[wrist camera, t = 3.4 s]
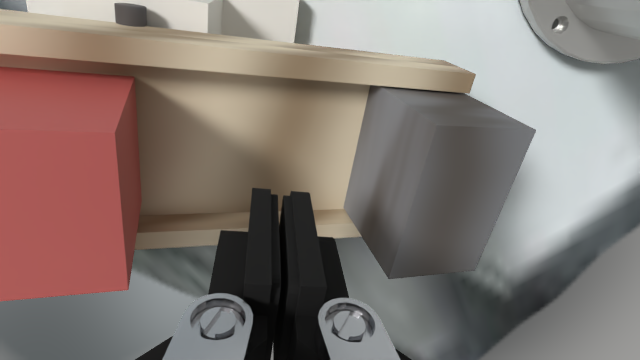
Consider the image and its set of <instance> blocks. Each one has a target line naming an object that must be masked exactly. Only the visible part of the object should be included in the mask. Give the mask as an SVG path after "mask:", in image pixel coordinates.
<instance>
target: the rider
mask: <svg viewBox="0 0 640 360" xmlns="http://www.w3.org/2000/svg"><path fill="white" fill-rule="evenodd" d="M141 202H142V197H141V180H140V162H139V145H138V127H137V110H136V92H135V77H133V76H120V75H107V74H94V73H80V72H67V71H54V70H41V69H28V68H15V67H1V66H0V301H8V300H20V299H31V298H43V297H53V296H65V295H75V294H88V293H99V292H110V291H122V290H128V289H129V282H130V275H131V269H132V262H133V255H134V249H135V242H136V235H137V229H138V222H139V216H140V209H141Z"/></svg>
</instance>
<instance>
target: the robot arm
mask: <svg viewBox="0 0 640 360" xmlns="http://www.w3.org/2000/svg"><path fill="white" fill-rule="evenodd" d="M520 3H521V7H522V10H523V13H524V15H525V17H526V18H527V20H528V22H529V23H530V25H531V27H532V29H533V30H534V32H535V33H536V34H537V35H538V36H539V37H540V38H541V39H542V40H543V41H544V42H545V43H546V44H547V45H548V46H550V47H552V48H553V49H555V50H557V51H558V52H560V53H562V54H563V55H566V56H570V57H573V58H576V59H578V60H581V61H586V62H592V63H598V64H612V63H624V62H628V61H633V60H637V59H640V0H520ZM273 343H274V344H273ZM272 345H273V350H274V360H411V359H410V358H408V357H407V356H405V355H404V354H402V353H401V352H400V351H398V350H397V349H395V348H394V346H393V344H392V342H391V340H390V338H389V336H388V334H387V332H386V330H385V328H384V326H383V324H382V322H381V320H380V318H379V317H378V315H377V314H376V312H375V311H374V310H373V309H372V308H370V307H369V306H368V305H366V304H365V303H363V302H361V301H359V300H355V299H351V298H349V296H348V292H347V288H346V283H345V279H344V275H343V271H342V267H341V263H340V259H339V255H338V251H337V246H336V242H335V239H334V238H333V237H321V236H318V235H317V230H316V224H315V219H314V213H313V208H312V202H311V197H310V193H309V192H298V191H291V192H290V196H287V195H283V200H282V207H281V215H280V222H279V211H278V195H275V194H271V189H262V188H252V195H251V206H250V217H249V228H248V232H243V231H227V230H221V231H220V236H219V241H218V246H217V251H216V257H215V262H214V267H213V273H212V278H211V283H210V289H209V294H208V295H205V296H203V297H201V298H199V299H196V300H195V301H194V302H193V303H191V304H190V305H189V306H188V308H187V309H186V311H185V312H184V314H183V316H182V318H181V320H180V322H179V324H178V327H177V329H176V331H175V333H174V335H173V336H172V337H170V338H169V339H167V340H166V341H164V342H162V343H161V344H159V345H158V346H156V347H154V348H153V349H151V350H150V351H148V352H147V353H145V354H143V355H142V356H140V357H139V358H137V359H135V360H270V358H271V352H272Z"/></svg>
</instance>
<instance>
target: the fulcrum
mask: <svg viewBox="0 0 640 360" xmlns="http://www.w3.org/2000/svg"><path fill="white" fill-rule="evenodd" d="M26 3H27V9H28V12H29V13H38V14H46V15H55V16H64V17H72V18H81V19H90V20H98V21H107V22H115V23H116V20H115V7H114V3H130V4H137V5H142V6H145V7H146V9H147V26H150V27H159V28H167V29H176V30H184V31H193V32H202V33H210V34H219V35H228V36H236V37H245V38H253V39H262V40H271V41H279V42H288V43H294V40H295V32H296V24H297V15H298V7H299V0H26Z"/></svg>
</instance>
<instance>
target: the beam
mask: <svg viewBox="0 0 640 360" xmlns="http://www.w3.org/2000/svg"><path fill="white" fill-rule="evenodd" d="M114 7H115V20H116V23H115V22H107V21H98V20H90V19H81V18H72V17H64V16H55V15H46V14H38V13H29V12H21V11H12V10H3V9H0V66H1V67H15V68H28V69H41V70H54V71H67V72H80V73H94V74H107V75H120V76H133V77H135V92H136V110H137V127H138V145H139V162H140V180H141V197H142V202H141V209H140V216H139V222H138V229H137V235H136V242H135V249H134V250H140V249H157V248H175V247H192V246H209V245H218V241H219V236H220V231H221V230H227V231H243V232H248V228H249V217H250V206H251V195H252V188H262V189H271V194H275V195H278V211H279V222H280V215H281V207H282V200H283V195H287V196H290V192H291V191H298V192H309V193H310V197H311V202H312V208H313V213H314V219H315V224H316V230H317V235H318V236H321V237H333V238H349V237H362V238H363V239H364V241H365V242H366V244H367V246H368V247H369V249H370V250H371V252H372V253H373V255H374V257H375V258H376V260H377V261H378V263H379V265H380V266H381V268H382V269H383V271H384V272H385V274H386V276H387V277H388V279H394V278H404V277H414V276H424V275H434V274H444V273H454V272H464V271H474V270H475V268H476V266H477V264H478V261H479V259H480V257H481V255H482V252H483V250H484V248H485V246H486V243H487V241H488V239H489V236H490V234H491V232H492V230H493V227H494V225H495V223H496V220H497V218H498V216H499V214H500V211H501V209H502V207H503V204H504V202H505V200H506V198H507V195H508V193H509V191H510V189H511V186H512V184H513V182H514V179H515V177H516V175H517V173H518V170H519V168H520V166H521V163H522V161H523V159H524V157H525V154H526V152H527V150H528V148H529V145H530V143H531V141H532V138H533V136H534V134H535V132H536V130H535V129H533V128H531V127H529V126H527V125H525V124H523V123H521V122H519V121H517V120H515V119H513V118H511V117H509V116H507V115H505V114H504V113H502V112H500V111H498V110H496V109H494V108H492V107H490V106H488V105H486V104H484V103H482V102H480V101H478V100H476V99H474V98H472V97H470V96H468V95H466V94H464V93H470V90H471V87H472V84H473V81H474V78H475V75H476V74H474V73H472V72H469V71H467V70H465V69H462V68H460V67H458V66H455V65H453V64H450V63H448V62H446V61H443V60H435V59H426V58H417V57H409V56H400V55H391V54H383V53H374V52H366V51H357V50H348V49H340V48H331V47H322V46H314V45H305V44H297V43H288V42H279V41H271V40H262V39H253V38H245V37H236V36H228V35H219V34H210V33H202V32H193V31H184V30H176V29H167V28H159V27H150V26H147V9H146V7H145V6H142V5H137V4H130V3H114Z"/></svg>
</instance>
